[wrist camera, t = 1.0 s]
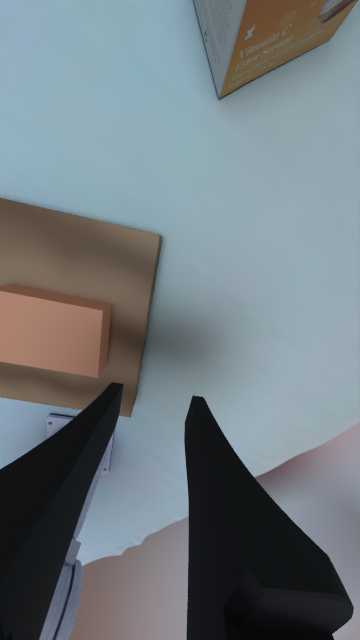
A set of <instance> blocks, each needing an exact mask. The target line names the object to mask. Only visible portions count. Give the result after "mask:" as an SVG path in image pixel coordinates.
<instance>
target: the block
mask: <svg viewBox="0 0 360 640" xmlns="http://www.w3.org/2000/svg"><path fill="white" fill-rule="evenodd" d="M111 307H112V304H111V303H106V302H101V301H96V300H91V299H86V298H81V297H76V296H70V295H65V294H60V293H55V292H50V291H45V290H40V289H35V288H30V287H25V286H20V285H15V284H8V285H3V286H0V362H6V363H12V364H18V365H24V366H30V367H36V368H42V369H48V370H54V371H60V372H66V373H72V374H78V375H84V376H90V377H96V378H98V376H99V375H100V373H101V372H102V370H103V369H104V367H105V366H106V362H107V351H108V340H109V329H110V318H111Z"/></svg>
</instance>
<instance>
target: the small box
mask: <svg viewBox="0 0 360 640" xmlns="http://www.w3.org/2000/svg"><path fill="white" fill-rule="evenodd" d="M357 1H358V0H194V3H195V7H196V11H197V15H198V19H199V23H200V27H201V31H202V35H203V39H204V43H205V47H206V51H207V55H208V58H209V62H210V66H211V70H212V74H213V78H214V82H215V86H216V90H217V94H218V97H219V98H221V97H223V96H225V95H226V94H228V93H230V92H232V91H233V90H235V89H237V88H238V87H240V86H242V85H243V84H245V83H247V82H249V81H251V80H253V79H255V78H257V77H258V76H260V75H262V74H264V73H266V72H268V71H270V70H272V69H274V68H276V67H278V66H280V65H282V64H284V63H285V62H287V61H289V60H291V59H293V58H295V57H297V56H299V55H301V54H303V53H305V52H307V51H309V50H311V49H312V48H314V47H317V46H319V45H321V44H323V43H325V42H326V41H328V40H329V39H330V38H331V37H332V36H333V35H334V33H335V32H336V31H337V29H338V28H339V26H340V25H341V24H342V22H343V21H344V19H345V18H346V16H347V15H348V14H349V12H350V11H351V9H352V8H353V7H354V5H355V4H356V3H357Z"/></svg>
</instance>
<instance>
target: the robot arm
mask: <svg viewBox="0 0 360 640" xmlns="http://www.w3.org/2000/svg"><path fill="white" fill-rule="evenodd" d="M123 385H124V384H121V383H115V382H112V383H110V384H109V385H108V387H107V388H106V389H105V390H104V391H103V392H102V393H101V394H100V395H99V396H98V397H97V398H96V399H95V400H94V401H93V402H92V403H90V404H89V405H88V406H87V407H86V408H85V409H84V410H83V411H82V412H81V413H79V414H78V415H77V416H76V417H75V418H71V417H65V416H58V415H49V416H48V417H47V418H46V428H47V439H46V440H45V441H44V442H42V443H41V444H39V445H38V446H36V447H35V448H33V449H32V450H30V451H29V452H27V453H26V454H24V455H23V456H21V457H20V458H18V459H17V460H15V461H13V462H12V463H10V464H8V465H7V466H5V467H3V468H2V469H0V640H69V636H70V633H71V630H72V627H73V624H74V620H75V617H76V613H77V609H78V605H79V601H80V596H81V589H82V566H81V562H80V561H79V560H77V559H76V557H77V554H78V551H79V548H80V545H81V543H80V542H78V541H76V539H77V537H78V535H79V533H80V531H81V528H82V525H83V523H84V520H85V517H86V514H87V511H88V508H89V506H90V503H91V500H92V497H93V494H94V491H95V488H96V486H97V483H98V480H99V477H100V476H107V475H108V473H109V467H110V459H111V451H112V443H113V435H114V429H115V426H116V423H117V420H118V417H119V413H120V407H121V400H122V392H123ZM184 442H185V456H186V469H187V481H188V497H189V563H188V565H189V566H188V610H187V640H334V639H333V636H332V634H333V633H334V632H335V631H337V630H338V629H339V628H340V627H342V626H343V625H344V624H346V623H347V622H348V621H349V620H350V619H351V618H352V615H353V608H354V607H353V605H352V602H351V600H350V599H349V596H348V594H347V592H346V590H345V588H344V586H343V584H342V582H341V580H340V578H339V576H338V574H337V572H336V570H335V568H334V566H333V564H332V562H331V561H330V558H329V557H328V555H327V554H326V553H325V552H323V550H322V549H321V548H319V546H317V545H316V544H315V543H314V542H313V541H312V540H311V539H310V538H309V537H308V536H307V535H306V534H305V533H304V532H303V531H302V530H301V529H300V528H299V527H298V526H297V525H296V524H295V523H294V522H293V521H292V520H291V519H290V518H289V517H288V516H287V515H286V513H285V512H284V511H283V510H282V509H281V508H280V507H279V506H278V505H277V504H276V503H275V502H274V501H273V499H272V498H271V497H270V496H269V495H268V494H267V492H266V491H265V490H264V489H263V488H262V486H261V485H260V484H259V483H258V482H257V481H256V479H255V478H254V477H253V476H252V474H251V473H250V472H249V471H248V469H247V468H246V467H245V465H244V464H243V463H242V461H241V460H240V458H239V457H238V456H237V454H236V453H235V451H234V450H233V448H232V447H231V445H230V444H229V442H228V440H227V439H226V437H225V436H224V434H223V432H222V431H221V429H220V427H219V425H218V424H217V422H216V420H215V418H214V416H213V415H212V413H211V411H210V409H209V407H208V405H207V403H206V401H205V399H204V398H203V397H199V396H193V397H192V400H191V403H190V407H189V410H188V414H187V417H186V421H185V441H184Z"/></svg>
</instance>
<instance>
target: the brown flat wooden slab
mask: <svg viewBox="0 0 360 640" xmlns="http://www.w3.org/2000/svg"><path fill="white" fill-rule="evenodd" d="M161 243H162V236H161V235H159V234H155V233H150V232H146V231H141V230H137V229H133V228H128V227H124V226H120V225H115V224H111V223H107V222H102V221H98V220H93V219H89V218H85V217H80V216H76V215H72V214H67V213H63V212H59V211H54V210H50V209H45V208H41V207H37V206H32V205H28V204H24V203H19V202H15V201H11V200H6V199H2V198H0V286H3V285H8V284H15V285H20V286H25V287H30V288H35V289H40V290H45V291H50V292H55V293H60V294H65V295H70V296H76V297H81V298H86V299H91V300H96V301H101V302H106V303H111V304H112V307H111V318H110V329H109V340H108V351H107V362H106V366H105V367H104V369H103V370H102V372H101V373H100V375H99V376H98V378H96V377H90V376H84V375H78V374H72V373H66V372H60V371H54V370H48V369H42V368H36V367H30V366H24V365H18V364H12V363H6V362H0V397H2V398H8V399H15V400H21V401H28V402H34V403H41V404H47V405H54V406H60V407H67V408H73V409H80V410H84V409H85V408H86V407H87V406H88V405H89V404H90V403H92V402H93V401H94V400H95V399H96V398H97V397H98V396H99V395H100V394H101V393H102V392H103V391H104V390H105V389H106V388H107V387H108V385H109V384H110V383H112V382H115V383H121V384H124V385H123V392H122V400H121V407H120V413H119V416H126V417H131V414H132V411H133V407H134V404H135V400H136V395H137V389H138V383H139V376H140V370H141V364H142V358H143V352H144V346H145V340H146V334H147V328H148V322H149V316H150V310H151V304H152V297H153V291H154V285H155V279H156V273H157V267H158V261H159V255H160V249H161Z"/></svg>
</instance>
